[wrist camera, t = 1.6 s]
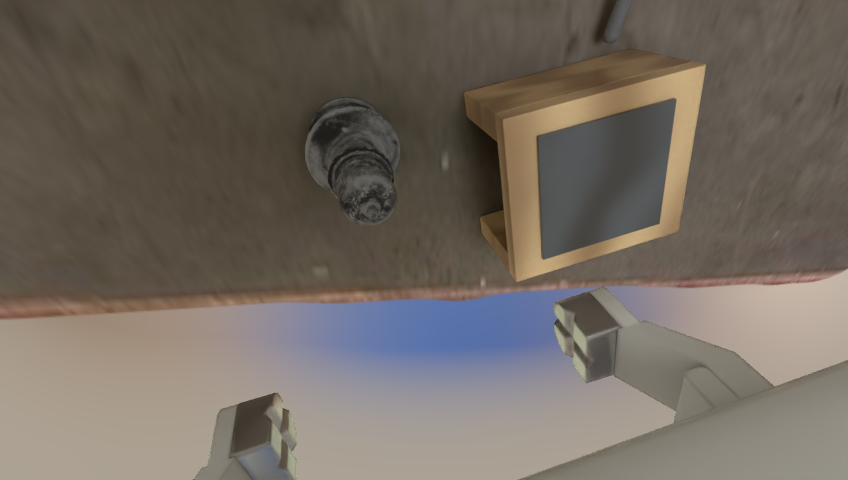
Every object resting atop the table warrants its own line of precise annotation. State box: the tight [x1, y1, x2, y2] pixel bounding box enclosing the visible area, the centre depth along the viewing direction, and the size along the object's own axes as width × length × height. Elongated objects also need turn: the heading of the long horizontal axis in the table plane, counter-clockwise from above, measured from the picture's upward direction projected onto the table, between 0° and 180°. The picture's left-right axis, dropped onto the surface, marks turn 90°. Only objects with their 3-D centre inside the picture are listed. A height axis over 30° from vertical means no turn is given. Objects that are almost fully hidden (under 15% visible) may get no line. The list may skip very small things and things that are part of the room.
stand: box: [464, 49, 706, 282], centre depth 31 cm, size 13×12×7 cm
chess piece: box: [305, 98, 400, 226], centre depth 25 cm, size 6×6×12 cm
